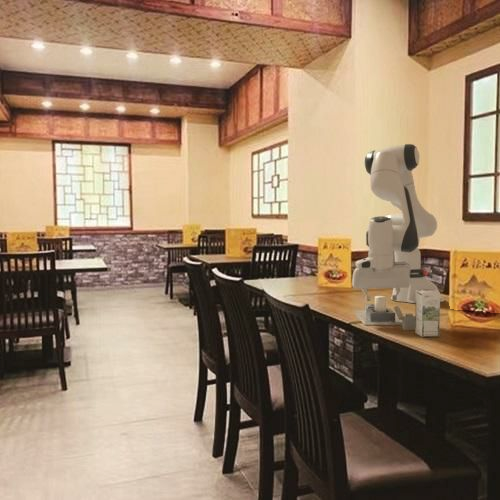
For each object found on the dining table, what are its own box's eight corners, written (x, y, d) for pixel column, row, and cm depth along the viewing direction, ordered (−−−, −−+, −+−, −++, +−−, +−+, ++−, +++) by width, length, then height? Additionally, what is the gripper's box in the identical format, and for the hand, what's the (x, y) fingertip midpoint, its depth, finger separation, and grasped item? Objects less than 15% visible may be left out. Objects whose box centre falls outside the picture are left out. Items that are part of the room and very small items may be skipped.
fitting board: (388, 312, 193) (388, 302, 193) (402, 324, 171) (402, 313, 171) (354, 312, 194) (354, 302, 194) (364, 325, 172) (364, 313, 172)
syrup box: (432, 332, 159) (432, 288, 158) (440, 337, 153) (440, 291, 152) (414, 333, 159) (415, 288, 158) (421, 337, 153) (422, 291, 152)
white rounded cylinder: (384, 317, 179) (384, 295, 178) (387, 319, 175) (387, 297, 174) (373, 317, 179) (373, 296, 179) (376, 320, 175) (376, 297, 175)
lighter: (414, 328, 165) (414, 305, 165) (416, 329, 164) (416, 306, 163) (393, 329, 165) (393, 305, 164) (395, 330, 163) (395, 306, 163)
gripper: (408, 260, 178) (408, 298, 179) (351, 261, 179) (351, 299, 180) (412, 262, 172) (412, 301, 173) (353, 263, 173) (354, 302, 174)
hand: (381, 300), depth 177 cm, fingers open, 8 cm apart
